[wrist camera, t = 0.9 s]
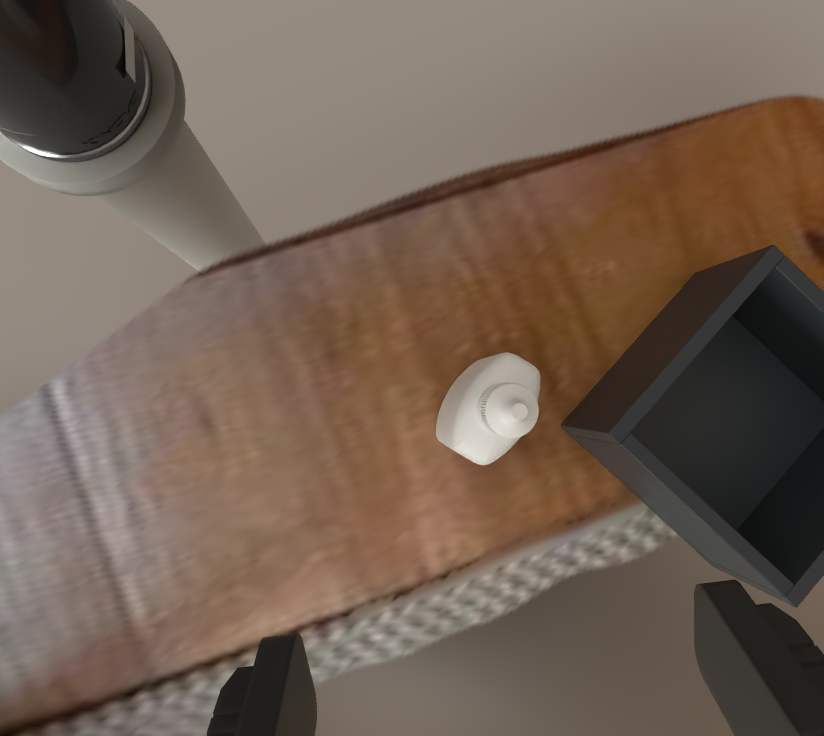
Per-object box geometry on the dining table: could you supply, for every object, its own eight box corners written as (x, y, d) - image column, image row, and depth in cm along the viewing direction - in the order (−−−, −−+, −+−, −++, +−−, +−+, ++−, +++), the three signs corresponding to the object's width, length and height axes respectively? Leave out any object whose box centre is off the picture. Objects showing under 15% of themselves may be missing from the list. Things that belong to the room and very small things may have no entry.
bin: (560, 425, 40) (607, 433, 32) (695, 272, 41) (773, 243, 33) (712, 566, 40) (796, 608, 32) (843, 411, 41) (955, 416, 33)
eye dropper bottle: (530, 413, 40) (603, 422, 28) (449, 462, 39) (487, 492, 27) (494, 350, 40) (550, 331, 28) (412, 397, 39) (434, 400, 27)
